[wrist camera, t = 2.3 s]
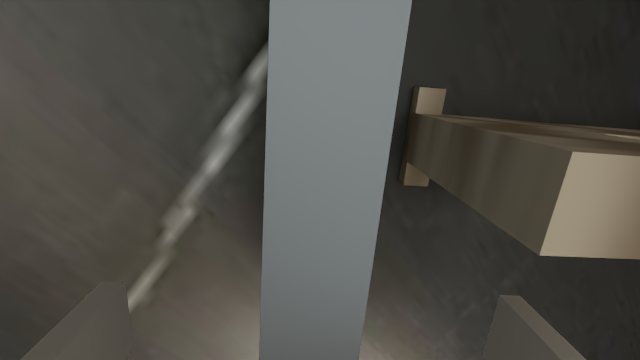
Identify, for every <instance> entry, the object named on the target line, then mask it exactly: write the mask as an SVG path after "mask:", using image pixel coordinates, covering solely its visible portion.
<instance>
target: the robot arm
mask: <svg viewBox="0 0 640 360" xmlns="http://www.w3.org/2000/svg"><path fill="white" fill-rule="evenodd" d="M132 349H133V345H132V336H131V327H130V318H129V309H128V301H127V292H126V283H125V282H108V281H101V282H100V283H99V284H98V285H97V286H96V287H95V288H94V289H93V290H92V291H91V292H90V293H89V294H88V295H87V296H86V297H85V298H83V299H82V300H81V301H80V302H79V303H78V304H77V305H76V306H75V307H74V308H73V309H72V310H71V311H70V312H69V313H68V314H67V315H66V316H65V317H64V318H63V319H62V320H61V321H60V322H59V323H58V324H57V325H56V326H55V327H53V328H52V329H51V330H50V331H49V332H48V333H47V334H46V335H45V336H44V337H43V338H42V339H41V340H40V341H39V342H38V343H37V344H36V345H35V346H34V347H33V348H32V349H31V350H30V351H29V352H28V353H27V354H26V355H24V356H23V357H22V358H21V359H20V360H126V358H127V357H128V355H129V354H130V352H131V351H132ZM483 357H484V358H485V360H586V359H585V358H584V357H583V356H582V355H581V354H580V353H579V352H578V351H577V350H576V349H575V348H573V347H572V346H571V345H570V344H569V343H568V342H567V341H566V340H565V339H564V338H563V337H562V336H561V335H560V334H559V333H558V332H557V331H556V330H555V329H554V328H553V327H552V326H551V325H550V324H548V323H547V322H546V321H545V320H544V319H543V318H542V317H541V316H540V315H539V314H538V313H537V312H536V311H535V310H534V309H533V308H532V307H531V306H530V305H529V304H528V303H527V302H526V301H525V300H523V299H522V298H521V297H520V296H508V295H500V297H499V300H498V304H497V307H496V310H495V314H494V317H493V321H492V324H491V328H490V331H489V335H488V338H487V342H486V345H485V349H484V352H483Z"/></svg>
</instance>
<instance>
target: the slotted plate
mask: <svg viewBox="0 0 640 360" xmlns="http://www.w3.org/2000/svg"><path fill="white" fill-rule="evenodd" d="M411 4H412V0H270V14H269V47H268V80H267V113H266V146H265V179H264V212H263V245H262V278H261V311H260V344H259V360H359V353H360V346H361V340H362V333H363V326H364V319H365V313H366V306H367V299H368V293H369V286H370V279H371V272H372V266H373V259H374V252H375V245H376V239H377V232H378V225H379V219H380V212H381V205H382V198H383V192H384V185H385V178H386V172H387V165H388V158H389V151H390V145H391V138H392V131H393V125H394V118H395V111H396V104H397V98H398V91H399V84H400V78H401V71H402V64H403V57H404V51H405V44H406V37H407V31H408V24H409V17H410V10H411Z"/></svg>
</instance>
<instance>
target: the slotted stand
mask: <svg viewBox="0 0 640 360" xmlns="http://www.w3.org/2000/svg"><path fill="white" fill-rule="evenodd" d="M445 93H446V89H437V88H425V87H414V88H413V94H412V101H411V107H410V113H409V119H408V125H407V131H406V138H405V144H404V150H403V156H402V162H401V169H400V175H399V181H400V182H401V183H402V184H403V185H411V186H428V182H429V178H430V179H432V180H433V181H435V182H436V183H437V184H439V185H440V186H442V187H443V188H445V189H446V190H447V191H449V192H450V193H452V194H453V195H454V196H456V197H457V198H459V199H460V200H461V201H463V202H464V203H466V204H467V205H469V206H470V207H471V208H473V209H474V210H476V211H477V212H478V213H480V214H481V215H483V216H484V217H486V218H487V219H488V220H490V221H491V222H493V223H494V224H495V225H497V226H498V227H500V228H501V229H503V230H504V231H505V232H507V233H508V234H510V235H511V236H512V237H514V238H515V239H517V240H518V241H520V242H521V243H522V244H524V245H525V246H527V247H528V248H529V249H531V250H532V251H534V252H535V253H537V254H538V255H541V256H568V257H595V258H622V259H640V130H632V129H620V128H607V127H594V126H582V125H569V124H557V123H544V122H531V121H519V120H506V119H494V118H481V117H468V116H456V115H443V114H442V109H443V104H444V99H445Z"/></svg>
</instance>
